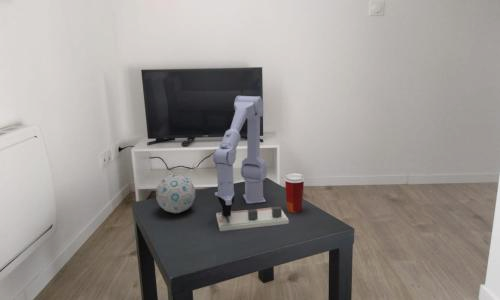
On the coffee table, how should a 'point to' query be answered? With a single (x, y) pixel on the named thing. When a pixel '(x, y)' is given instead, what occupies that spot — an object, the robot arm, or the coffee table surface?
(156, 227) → the coffee table surface
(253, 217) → the breaker
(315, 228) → the coffee table surface
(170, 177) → the puzzle ball
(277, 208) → the block
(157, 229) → the coffee table surface
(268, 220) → the breaker panel
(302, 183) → the paper cup
